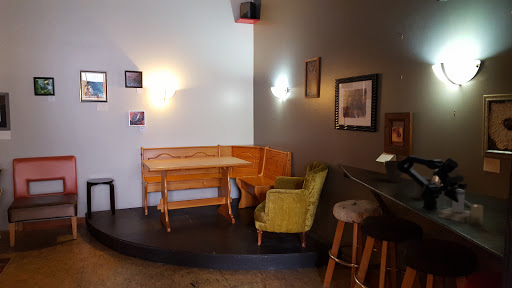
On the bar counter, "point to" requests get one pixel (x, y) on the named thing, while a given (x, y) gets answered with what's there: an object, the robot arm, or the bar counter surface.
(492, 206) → the bar counter surface
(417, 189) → the pillar candle
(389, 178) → the plant pot
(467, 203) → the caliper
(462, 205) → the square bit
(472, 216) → the beige rectangular block
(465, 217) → the bore block
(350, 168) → the bar counter surface
